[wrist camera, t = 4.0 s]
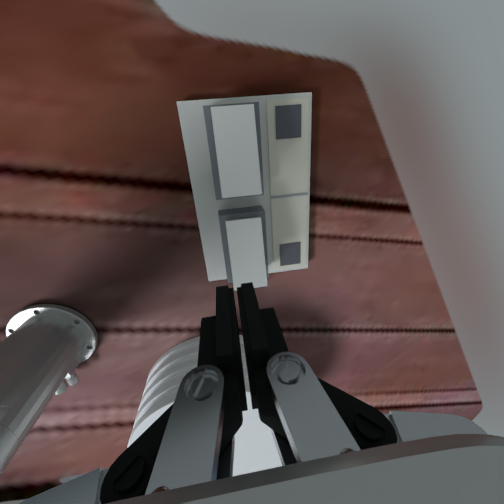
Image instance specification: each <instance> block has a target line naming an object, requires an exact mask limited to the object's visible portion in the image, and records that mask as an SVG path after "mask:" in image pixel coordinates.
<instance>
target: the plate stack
mask: <svg viewBox="0 0 504 504" xmlns="http://www.w3.org/2000/svg"><path fill="white" fill-rule="evenodd" d="M239 338H240V346H241V355H242V364H243V373H244V381H245V390H246V399H247V408H248V410H247V411H242V413H243V421H242V423H243V424H242V426H241V427H240V428H239V430H238V431H237V433H236V434H235V447H234V461H233V475H232V476H237V475H242V474H247V473H251V472H256V471H261V470H266V469H271V468H276V467H280V466H282V463H281V460H280V457H279V454H278V451H277V448H276V445H275V442H274V439H273V436H272V432H271V428H270V427H268V426H267V425H266V424H264V423H263V422H262V421H260V418H259V412H258V409H252V402H251V395H250V387H249V380H248V372H247V365H246V357H245V349H244V342H243V335H239ZM199 341H200V336H199V337H195V338H192V339H189V340H187V341H184V342H182V343H180V344H178V345H176V346H174V347H173V348H171V349H170V350H168V351H167V352H166V353H164V354H163V355H162V356H161V357H160V358H159V359H158V360H157V361H156V363H155V364H154V366H153V367H152V369H151V371H150V373H149V376H148V379H147V383H146V386H145V389H144V392H143V396H142V399H141V402H140V406H139V409H138V413H137V416H136V419H135V422H134V426H133V430H132V433H131V436H130V439H129V442H128V447H129V446H130V445H131V444H132V443H133V442H134V441H135V440H136V439H137V438H138V437H139V436H140V435H141V434H142V433H144V432H145V431H146V430H147V429H148V428H149V427H150V426H151V425H152V424H153V423H154V422H155V421H156V420H157V419H158V418H159V417H160V416H161V415H162V414H163V413H164V412H165V411H166V410H167V409H168V408H169V407H170V406H171V405H172V404H173V403H174V401H175V398H176V395H177V392H178V389H179V385H180V383H181V381H182V379H183V377H184V376H185V375H186V374H187V373H188V372H189V371H191V370H192V369H194V368H196V367H197V363H198V352H199ZM128 447H127V448H128Z"/></svg>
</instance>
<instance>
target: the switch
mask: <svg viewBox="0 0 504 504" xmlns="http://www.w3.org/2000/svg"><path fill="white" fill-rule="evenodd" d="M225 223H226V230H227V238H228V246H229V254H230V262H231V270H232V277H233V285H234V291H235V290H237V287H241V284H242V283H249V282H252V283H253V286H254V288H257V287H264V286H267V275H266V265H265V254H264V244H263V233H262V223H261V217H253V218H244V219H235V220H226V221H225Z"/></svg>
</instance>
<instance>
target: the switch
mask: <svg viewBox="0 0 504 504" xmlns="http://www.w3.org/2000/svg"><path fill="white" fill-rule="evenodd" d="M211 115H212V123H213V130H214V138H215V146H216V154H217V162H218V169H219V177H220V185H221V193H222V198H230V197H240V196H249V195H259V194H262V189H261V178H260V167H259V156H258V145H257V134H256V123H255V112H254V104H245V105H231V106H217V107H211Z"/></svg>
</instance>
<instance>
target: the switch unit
mask: <svg viewBox="0 0 504 504" xmlns="http://www.w3.org/2000/svg"><path fill="white" fill-rule="evenodd" d="M176 102H177V108H178V113H179V119H180V124H181V130H182V136H183V141H184V147H185V152H186V158H187V163H188V169H189V175H190V180H191V186H192V191H193V197H194V202H195V208H196V214H197V219H198V225H199V230H200V236H201V241H202V247H203V252H204V258H205V264H206V269H207V275H208V280H209V281H214V280H222V279H227V281H228V283H233V277H232V270H231V262H230V254H229V246H228V238H227V230H226V223H225V221H226V220H235V219H244V218H253V217H261V223H262V233H263V244H264V254H265V265H266V275H267V278H269V273H274V272H281V271H288V270H296V269H303V268H308V243H309V199H310V155H311V111H312V92H306V93H292V94H277V95H263V96H248V97H234V98H219V99H205V100H190V101H176ZM245 104H254V112H255V123H256V134H257V145H258V156H259V167H260V178H261V189H262V194H259V195H249V196H240V197H230V198H222V193H221V185H220V177H219V169H218V162H217V154H216V146H215V138H214V130H213V123H212V115H211V107H217V106H231V105H245Z"/></svg>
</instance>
